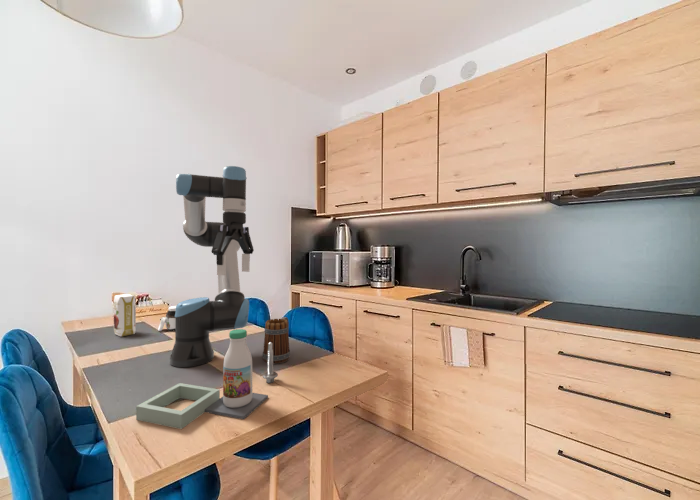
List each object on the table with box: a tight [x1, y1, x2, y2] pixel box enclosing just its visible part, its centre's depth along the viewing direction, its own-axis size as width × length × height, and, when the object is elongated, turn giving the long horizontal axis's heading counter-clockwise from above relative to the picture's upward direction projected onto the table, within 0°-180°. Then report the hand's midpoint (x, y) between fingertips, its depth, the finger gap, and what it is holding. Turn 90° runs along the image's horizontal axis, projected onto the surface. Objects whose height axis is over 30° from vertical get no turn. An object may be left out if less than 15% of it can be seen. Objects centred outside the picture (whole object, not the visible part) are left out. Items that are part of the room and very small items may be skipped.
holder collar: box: [135, 382, 221, 430], centre depth 86 cm, size 14×14×4 cm
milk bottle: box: [222, 328, 253, 408], centre depth 89 cm, size 8×8×20 cm
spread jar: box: [157, 305, 177, 332], centre depth 163 cm, size 12×11×12 cm
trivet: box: [204, 392, 269, 420], centre depth 89 cm, size 12×12×1 cm
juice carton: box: [113, 293, 137, 337], centre depth 154 cm, size 8×9×19 cm
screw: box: [262, 342, 279, 384], centre depth 104 cm, size 13×5×5 cm
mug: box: [262, 316, 291, 365], centre depth 126 cm, size 16×11×15 cm
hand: (234, 273), depth 110 cm, fingers open, 13 cm apart
